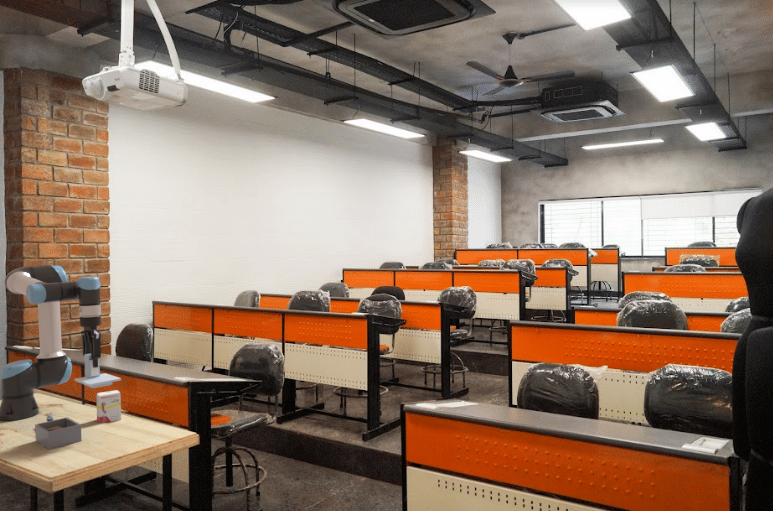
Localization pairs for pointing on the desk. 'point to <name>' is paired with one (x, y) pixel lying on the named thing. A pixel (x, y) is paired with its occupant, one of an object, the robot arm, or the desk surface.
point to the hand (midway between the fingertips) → (92, 374)
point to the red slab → (49, 418)
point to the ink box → (108, 406)
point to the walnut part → (54, 428)
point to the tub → (58, 433)
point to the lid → (95, 380)
